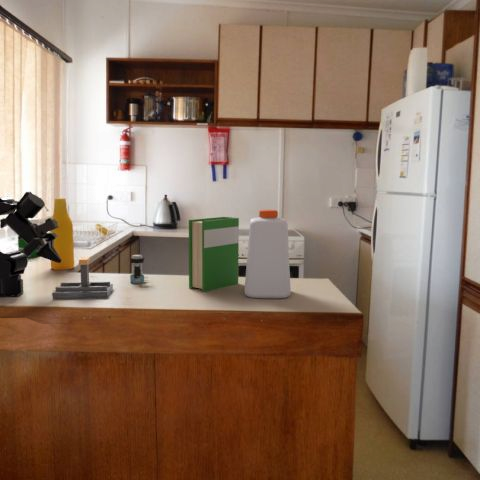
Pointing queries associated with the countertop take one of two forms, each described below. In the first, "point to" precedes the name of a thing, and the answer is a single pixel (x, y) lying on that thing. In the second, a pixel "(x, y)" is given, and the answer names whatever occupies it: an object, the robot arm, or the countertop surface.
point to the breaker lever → (84, 271)
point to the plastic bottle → (268, 257)
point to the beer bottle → (63, 236)
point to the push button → (137, 269)
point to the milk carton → (23, 244)
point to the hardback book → (213, 252)
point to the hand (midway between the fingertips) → (60, 261)
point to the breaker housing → (82, 290)
